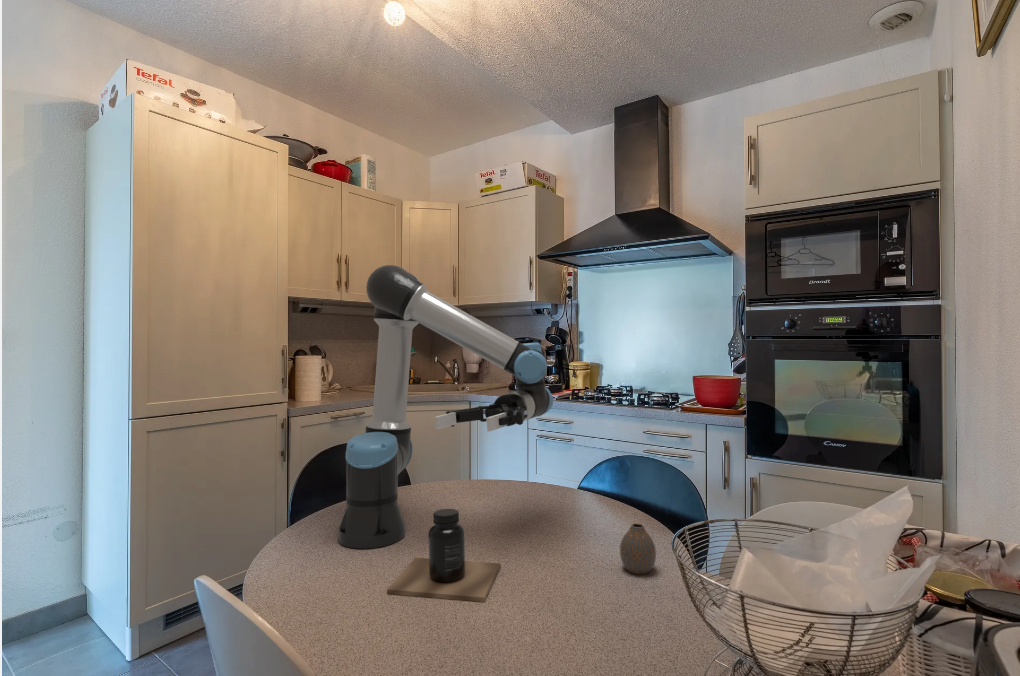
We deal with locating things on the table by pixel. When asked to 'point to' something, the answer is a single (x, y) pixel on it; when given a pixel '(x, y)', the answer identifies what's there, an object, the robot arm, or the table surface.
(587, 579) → the table surface
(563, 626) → the table surface
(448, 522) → the supplement bottle
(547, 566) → the table surface
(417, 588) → the board
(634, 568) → the vase
